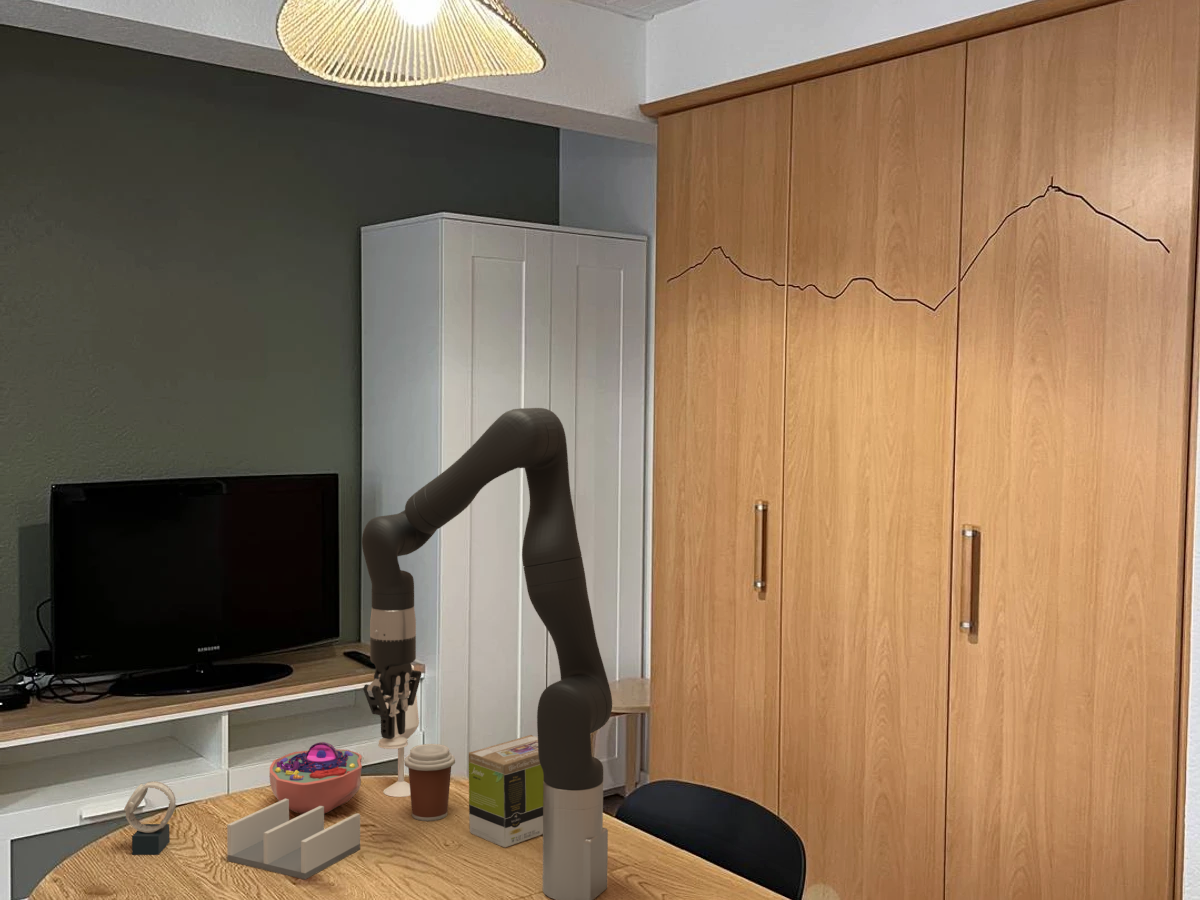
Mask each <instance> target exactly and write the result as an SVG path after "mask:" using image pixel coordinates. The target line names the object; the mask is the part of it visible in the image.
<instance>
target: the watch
mask: <svg viewBox="0 0 1200 900" xmlns="http://www.w3.org/2000/svg"><path fill="white" fill-rule="evenodd" d="M149 789H156V790H159V791H160V792H162V793H163V794H165V796H166V797H167V799H168V802H169V803H168V807H167V811H166V812H165V815H164V817H163V819H162V820H161V821H160V823H142V822H141V821H139V820H138V819H137V817H136V816H135V811H136V810H137V809H138V807H140V804H141V803H142V802H143V800H144V798H145V797H146V794H147V793H148V790H149ZM176 802H177V801H176V795H175V793H174V791H173V789H171V788H170V787H169V786H168V785H167V784H165V783H164V782H160V781H152V780H151V781H148V782H146V783H144V784H143V783H141V784H139V785H138V786H137V788H135V790H134V792H133V793H132V794H131V796H130V797H129V799H128V800H127V802H126V804H125V807H124V809H123V810H124V811H125V818H126V820H127V822H128V824H129V825H130V826H131V827H132V828H133V829H135V830H136V832H134V834H132V836H131V851H132V852H131V854H132V856H134V855H135V856H140V855H141V856H143V855H144V856H145V855H146V856H152V855H153V856H159V855H160V854H161V853H162V852H163V851H164V849H165V848H166V847H167V846H168V845H169V844H170V842H171V841H170V836H171V835H170V824H169V823H168V822H169V821H170V819H171V818H172V817H173V814H174V812H175V810H176V808H177V804H176Z"/></svg>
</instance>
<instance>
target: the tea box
mask: <svg viewBox="0 0 1200 900" xmlns="http://www.w3.org/2000/svg"><path fill="white" fill-rule="evenodd" d="M543 781H544V774H543V769H542V767H541V765H540V761H539V755H538V736H535V735H532V734H529V735H525V736H523V737H519V738H515V739H512V740H508V741H504V742H501V743H497V744H494V745H490V746H488V747H487V746H486V747H484V748H480V749H477V750H473V751H469V752H468V815H469V817H468V821H469V823H468V824H469V833H470V834H471V835H474V836H475V837H478V838H481V839H484V840H486V841H488V842H490V843H492V844H494V845H497V846H500V847H502V848H508V847H511V846H513V845H516V844H519V843H522V842H524V841H527V840H530V839H533V838H536V837H540V836H541V835H543Z"/></svg>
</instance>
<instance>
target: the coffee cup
mask: <svg viewBox="0 0 1200 900" xmlns="http://www.w3.org/2000/svg"><path fill="white" fill-rule="evenodd" d="M455 763H456V757H455V755H454V754H452V753H451V752H450V748H449V747H448V746H446V745H444V744H439V743H424V744H419V745H415V746H414V747H412V748H411V749H410V750H409V754H408V755H407V756H405V757H404V767H406V768H408V779H409V782H408V783H409V784H410V794H411V795H410V803H411V817H412V818H413V819H414V820H418V821H424V822H432V821H433V822H434V821H440V820H443V819H444V818H446V817H447V816H448V810H449V797H450V785H451V775H452V773H451V772H452V766H454V765H455Z"/></svg>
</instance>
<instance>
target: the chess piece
mask: <svg viewBox="0 0 1200 900" xmlns="http://www.w3.org/2000/svg"><path fill="white" fill-rule="evenodd" d="M389 697H391V696H389ZM398 701H399V697H398ZM398 701H397V702H396V703H395V713H394V716H395V737H394V738H392V739H386V738H383V737H382V738H380V739H379V740H378V748H381V749H384V750H385V749H386V750H396V749H397V750H398V748H403V747H404V748H405V747H407V746H408V745H409V742H408V739H406V738H404V737H401V736H400V734H398V729H397V721H396V714H398V713H399V710H397V709H396V707H397V703H398Z"/></svg>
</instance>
